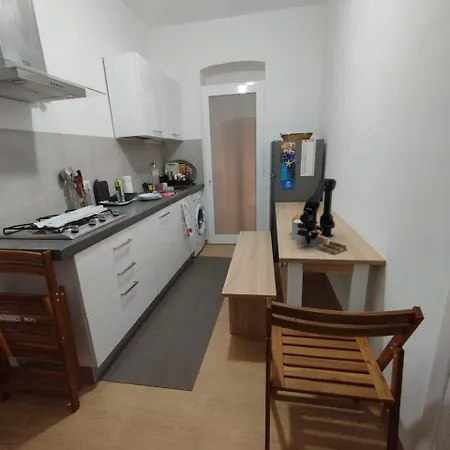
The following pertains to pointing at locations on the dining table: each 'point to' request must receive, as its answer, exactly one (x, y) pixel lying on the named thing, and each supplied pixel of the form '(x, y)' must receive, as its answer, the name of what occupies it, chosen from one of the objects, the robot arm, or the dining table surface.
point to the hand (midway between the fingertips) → (310, 243)
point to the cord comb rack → (332, 248)
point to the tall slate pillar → (311, 243)
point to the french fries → (295, 217)
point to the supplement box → (295, 230)
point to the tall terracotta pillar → (322, 239)
